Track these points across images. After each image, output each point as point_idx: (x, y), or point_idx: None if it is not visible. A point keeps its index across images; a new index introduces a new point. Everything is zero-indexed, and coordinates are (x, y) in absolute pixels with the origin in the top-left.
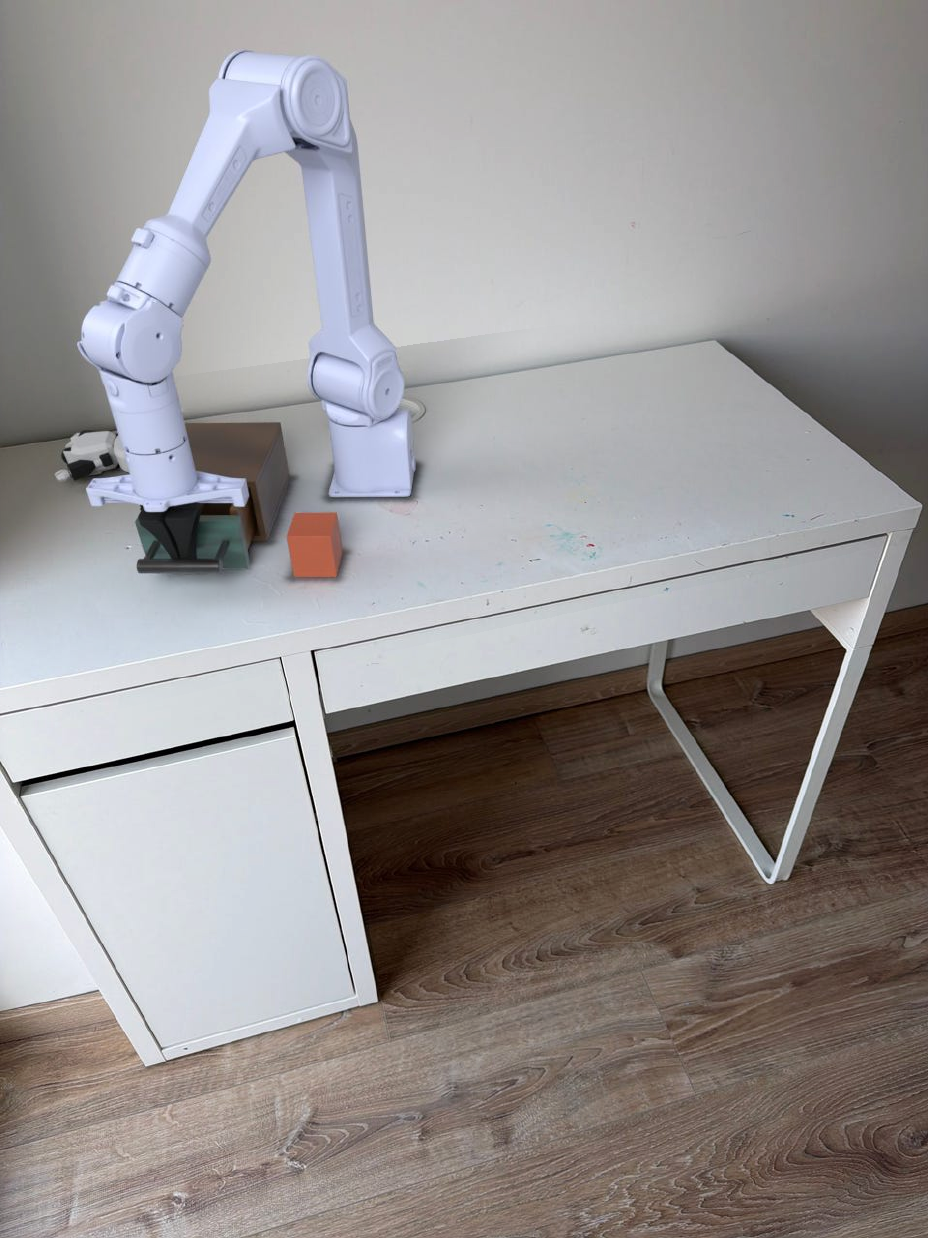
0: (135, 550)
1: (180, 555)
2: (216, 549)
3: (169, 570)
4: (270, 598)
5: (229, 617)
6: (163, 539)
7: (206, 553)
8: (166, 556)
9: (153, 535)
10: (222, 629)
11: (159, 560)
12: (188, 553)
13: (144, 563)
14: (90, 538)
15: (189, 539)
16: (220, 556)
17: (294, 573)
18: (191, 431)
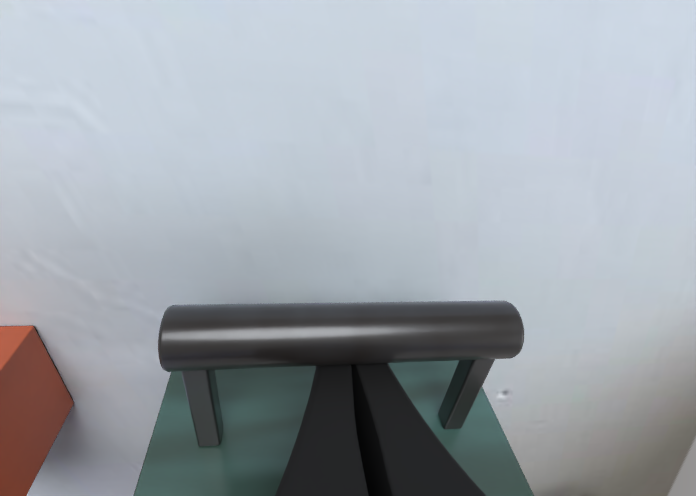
0: (489, 388)
1: (348, 379)
2: (254, 406)
3: (389, 310)
4: (57, 238)
5: (163, 144)
6: (424, 465)
7: (293, 390)
8: (416, 375)
9: (480, 491)
10: (160, 69)
11: (434, 353)
12: (312, 390)
13: (494, 337)
14: (575, 409)
15: (284, 475)
16: (186, 382)
17: (21, 336)
18: None
